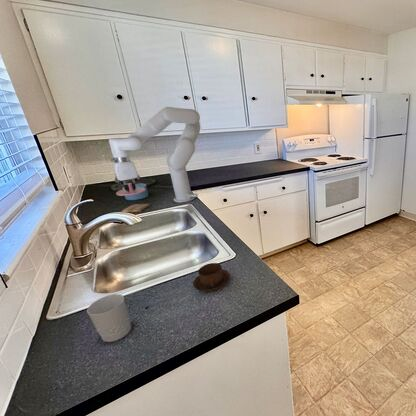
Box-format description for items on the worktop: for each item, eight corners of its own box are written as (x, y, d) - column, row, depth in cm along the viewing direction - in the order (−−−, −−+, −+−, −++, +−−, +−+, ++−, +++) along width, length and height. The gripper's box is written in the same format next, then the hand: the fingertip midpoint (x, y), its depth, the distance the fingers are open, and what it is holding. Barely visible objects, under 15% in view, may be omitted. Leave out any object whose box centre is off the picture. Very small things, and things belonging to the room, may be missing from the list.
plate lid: (147, 188, 170) (145, 179, 168) (143, 194, 158) (141, 185, 156) (119, 191, 165) (117, 182, 163) (113, 198, 152) (110, 188, 150)
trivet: (150, 205, 171) (150, 203, 170) (141, 211, 160) (140, 210, 160) (132, 205, 170) (132, 204, 170) (121, 212, 160) (121, 210, 159)
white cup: (91, 342, 72) (78, 313, 68) (117, 320, 79) (106, 292, 75) (117, 345, 71) (105, 316, 67) (140, 323, 78) (131, 295, 74)
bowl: (150, 192, 195) (147, 182, 192) (147, 198, 183) (144, 187, 181) (127, 195, 190) (124, 185, 187) (123, 201, 178) (120, 190, 175)
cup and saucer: (236, 283, 95) (234, 268, 92) (202, 299, 87) (198, 284, 85) (221, 269, 103) (219, 255, 100) (189, 283, 95) (185, 268, 93)
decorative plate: (119, 180, 222) (160, 177, 230) (120, 182, 223) (160, 179, 230) (102, 191, 195) (148, 187, 203) (103, 193, 196) (149, 189, 203)
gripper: (106, 163, 146) (116, 194, 153) (140, 158, 158) (148, 188, 164) (103, 161, 151) (113, 192, 157) (136, 157, 162) (144, 186, 169)
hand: (130, 190), depth 161 cm, fingers closed on plate lid, 2 cm apart
